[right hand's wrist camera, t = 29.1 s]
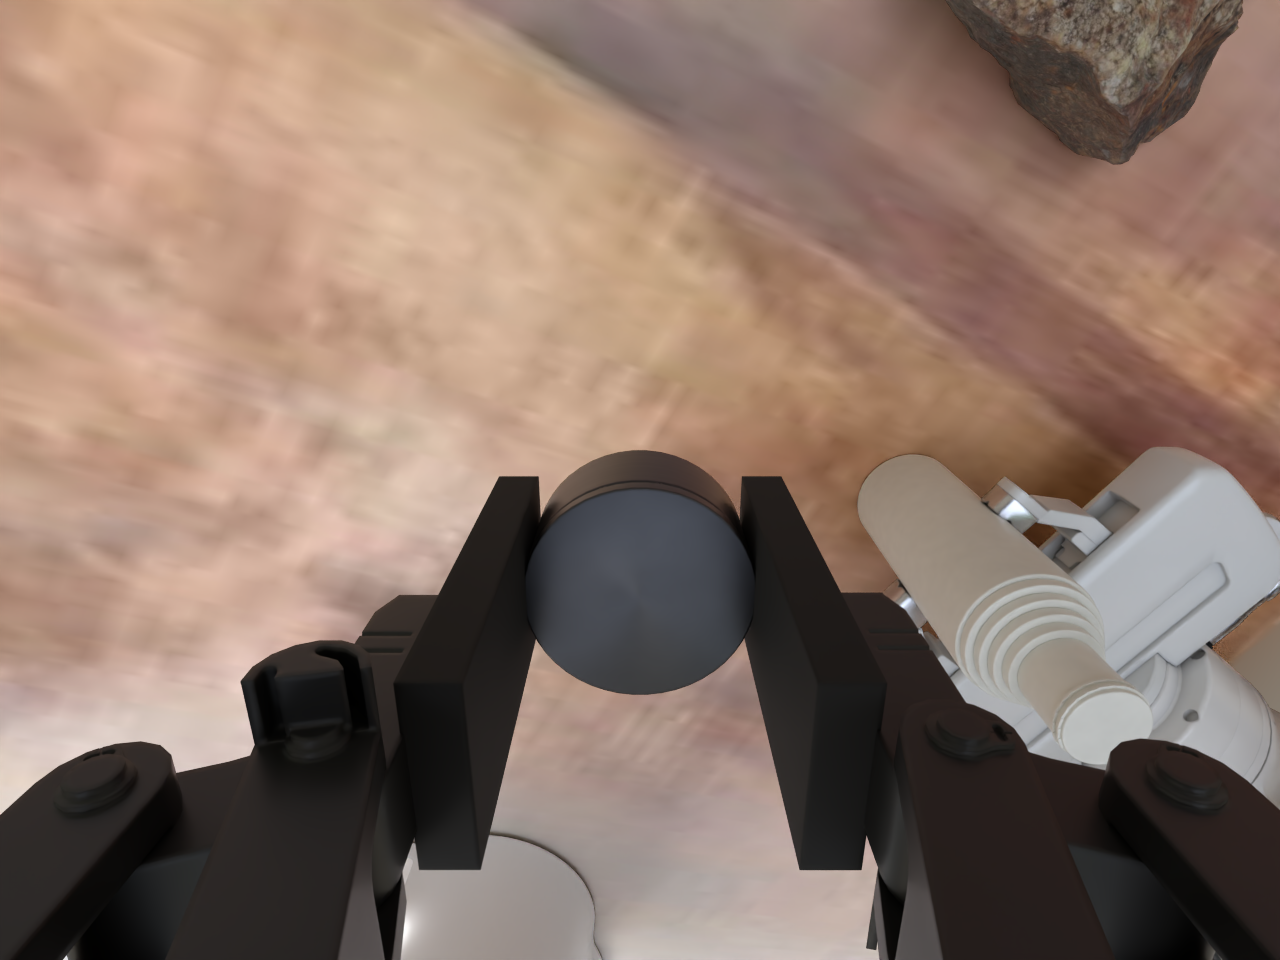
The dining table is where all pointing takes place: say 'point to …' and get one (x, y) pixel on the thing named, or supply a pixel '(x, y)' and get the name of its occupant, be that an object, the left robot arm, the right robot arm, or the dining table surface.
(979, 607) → the bottle
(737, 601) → the cap
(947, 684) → the right robot arm
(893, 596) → the left robot arm
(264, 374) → the dining table surface
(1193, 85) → the rock
